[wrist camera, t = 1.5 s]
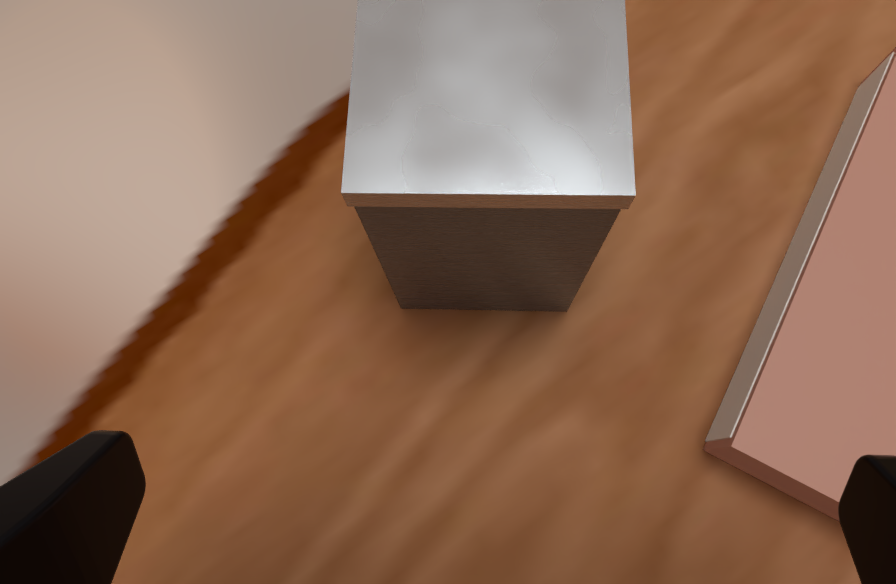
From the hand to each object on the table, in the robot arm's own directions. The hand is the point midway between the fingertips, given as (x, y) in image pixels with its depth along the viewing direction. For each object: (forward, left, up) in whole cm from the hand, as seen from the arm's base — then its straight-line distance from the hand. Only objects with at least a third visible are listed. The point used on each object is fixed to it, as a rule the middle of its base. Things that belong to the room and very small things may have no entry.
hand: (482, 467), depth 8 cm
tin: (+4, -8, -14) cm, 16 cm away
